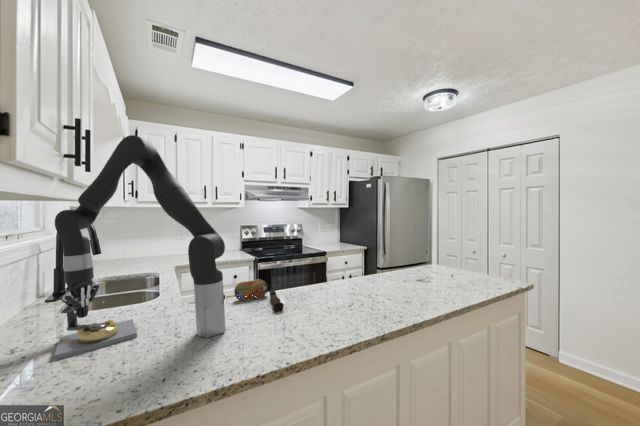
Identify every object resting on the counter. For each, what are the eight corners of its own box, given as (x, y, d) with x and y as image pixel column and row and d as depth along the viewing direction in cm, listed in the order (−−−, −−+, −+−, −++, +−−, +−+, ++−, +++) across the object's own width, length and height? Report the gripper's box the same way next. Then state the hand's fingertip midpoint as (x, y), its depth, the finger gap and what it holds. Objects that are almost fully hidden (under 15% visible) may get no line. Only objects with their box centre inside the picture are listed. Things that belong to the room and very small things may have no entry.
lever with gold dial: (124, 329, 94) (123, 304, 94) (99, 343, 84) (97, 316, 84) (84, 329, 95) (82, 305, 95) (54, 344, 85) (52, 317, 85)
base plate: (137, 337, 91) (136, 332, 91) (54, 360, 78) (53, 355, 78) (132, 322, 103) (132, 318, 103) (60, 341, 91) (60, 336, 91)
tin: (235, 302, 121) (234, 283, 121) (234, 300, 124) (233, 282, 124) (268, 296, 127) (267, 278, 127) (267, 294, 130) (266, 277, 130)
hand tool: (283, 311, 108) (283, 300, 108) (273, 313, 106) (273, 301, 106) (277, 297, 126) (277, 287, 126) (269, 298, 125) (268, 288, 125)
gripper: (70, 272, 86) (75, 325, 87) (105, 262, 100) (108, 309, 100) (48, 273, 87) (52, 326, 87) (85, 263, 100) (89, 309, 101)
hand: (82, 316), depth 94 cm, fingers closed
